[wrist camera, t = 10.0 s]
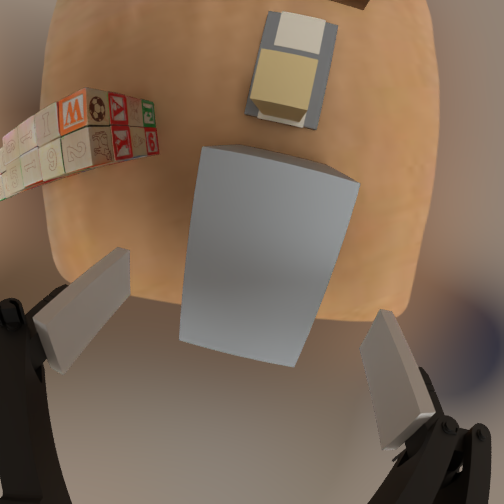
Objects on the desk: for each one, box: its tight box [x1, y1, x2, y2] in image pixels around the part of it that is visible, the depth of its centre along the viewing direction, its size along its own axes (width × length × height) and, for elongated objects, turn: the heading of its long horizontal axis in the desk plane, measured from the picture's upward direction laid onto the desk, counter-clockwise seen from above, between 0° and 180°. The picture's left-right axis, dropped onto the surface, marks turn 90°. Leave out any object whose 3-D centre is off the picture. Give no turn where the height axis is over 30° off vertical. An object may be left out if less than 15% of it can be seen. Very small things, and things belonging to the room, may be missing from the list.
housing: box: [179, 145, 360, 367], centre depth 23 cm, size 14×9×13 cm, turn 168°
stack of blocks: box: [0, 87, 159, 201], centre depth 23 cm, size 21×6×12 cm, turn 96°
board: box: [244, 11, 338, 130], centre depth 18 cm, size 12×7×11 cm, turn 168°
